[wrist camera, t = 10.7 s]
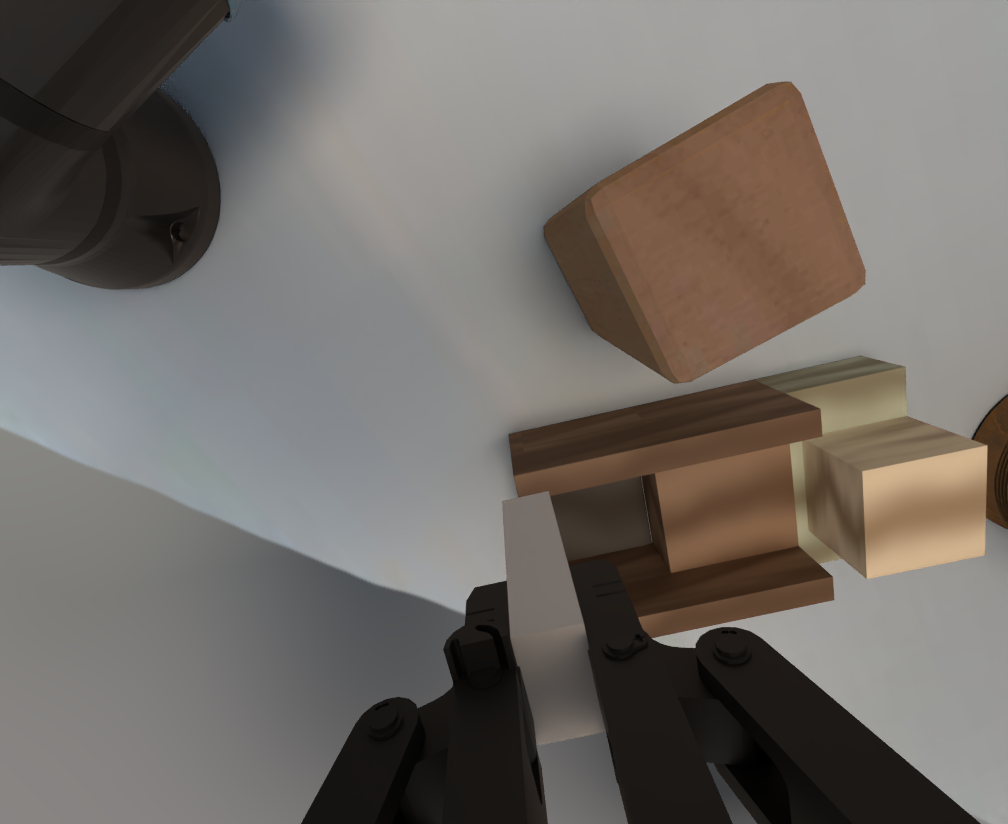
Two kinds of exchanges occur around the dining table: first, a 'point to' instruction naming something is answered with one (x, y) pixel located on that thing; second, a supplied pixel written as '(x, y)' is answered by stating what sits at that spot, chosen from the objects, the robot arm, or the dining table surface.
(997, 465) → the wooden container
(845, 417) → the chute
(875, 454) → the birch block
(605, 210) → the wooden block
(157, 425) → the dining table surface
